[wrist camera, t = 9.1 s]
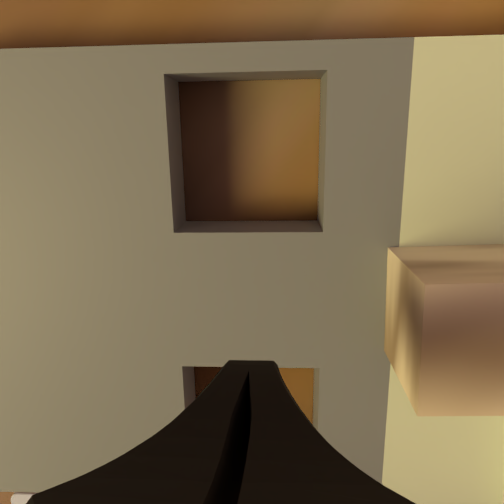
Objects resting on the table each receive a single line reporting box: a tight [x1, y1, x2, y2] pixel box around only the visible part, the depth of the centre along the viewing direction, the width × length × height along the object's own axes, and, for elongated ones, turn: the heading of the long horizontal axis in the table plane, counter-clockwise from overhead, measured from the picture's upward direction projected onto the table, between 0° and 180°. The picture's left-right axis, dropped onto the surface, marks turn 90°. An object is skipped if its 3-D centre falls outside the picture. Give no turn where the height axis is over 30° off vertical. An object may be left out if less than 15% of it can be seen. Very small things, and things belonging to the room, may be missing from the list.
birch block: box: [384, 244, 504, 416], centre depth 16 cm, size 4×4×4 cm
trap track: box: [0, 35, 504, 504], centre depth 19 cm, size 20×25×4 cm
